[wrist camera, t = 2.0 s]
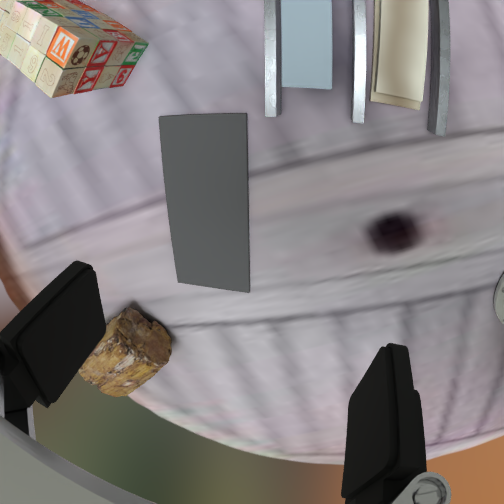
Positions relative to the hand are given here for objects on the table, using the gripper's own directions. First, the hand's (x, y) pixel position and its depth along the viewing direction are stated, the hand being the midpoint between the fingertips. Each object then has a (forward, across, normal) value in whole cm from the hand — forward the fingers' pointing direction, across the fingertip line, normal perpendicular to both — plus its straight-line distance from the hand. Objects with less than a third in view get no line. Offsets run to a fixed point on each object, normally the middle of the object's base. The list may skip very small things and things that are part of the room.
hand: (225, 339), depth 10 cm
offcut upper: (+26, -7, -15) cm, 30 cm away
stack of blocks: (+27, +29, -13) cm, 42 cm away
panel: (+26, +1, -15) cm, 30 cm away
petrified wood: (+27, +22, +37) cm, 50 cm away
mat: (+26, +10, +9) cm, 29 cm away
